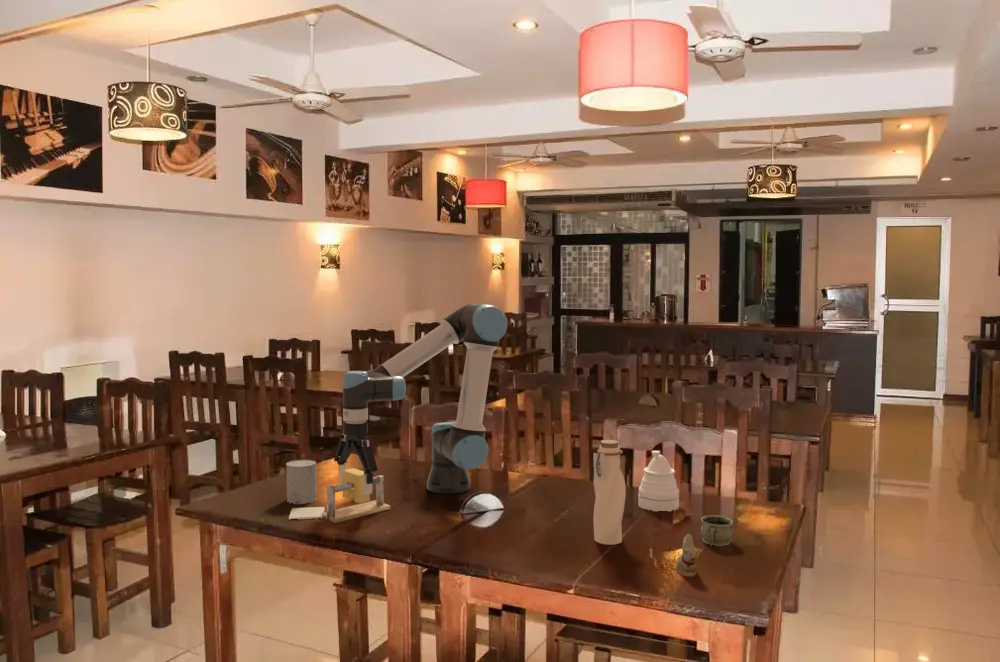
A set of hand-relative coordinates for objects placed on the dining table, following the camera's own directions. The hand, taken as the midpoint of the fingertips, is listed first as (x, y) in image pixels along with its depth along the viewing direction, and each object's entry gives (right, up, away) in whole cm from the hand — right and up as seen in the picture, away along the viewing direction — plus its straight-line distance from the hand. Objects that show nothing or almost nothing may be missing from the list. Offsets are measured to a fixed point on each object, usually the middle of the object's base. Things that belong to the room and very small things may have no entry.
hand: (355, 489), depth 245 cm
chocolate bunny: (+92, -12, -47) cm, 103 cm away
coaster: (-15, -8, -1) cm, 17 cm away
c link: (0, -3, 0) cm, 3 cm away
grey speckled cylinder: (-20, -7, +15) cm, 26 cm away
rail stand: (0, -8, +1) cm, 8 cm away
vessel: (+105, -10, -24) cm, 109 cm away
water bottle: (+75, -10, -24) cm, 79 cm away
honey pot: (+96, -7, +10) cm, 97 cm away
